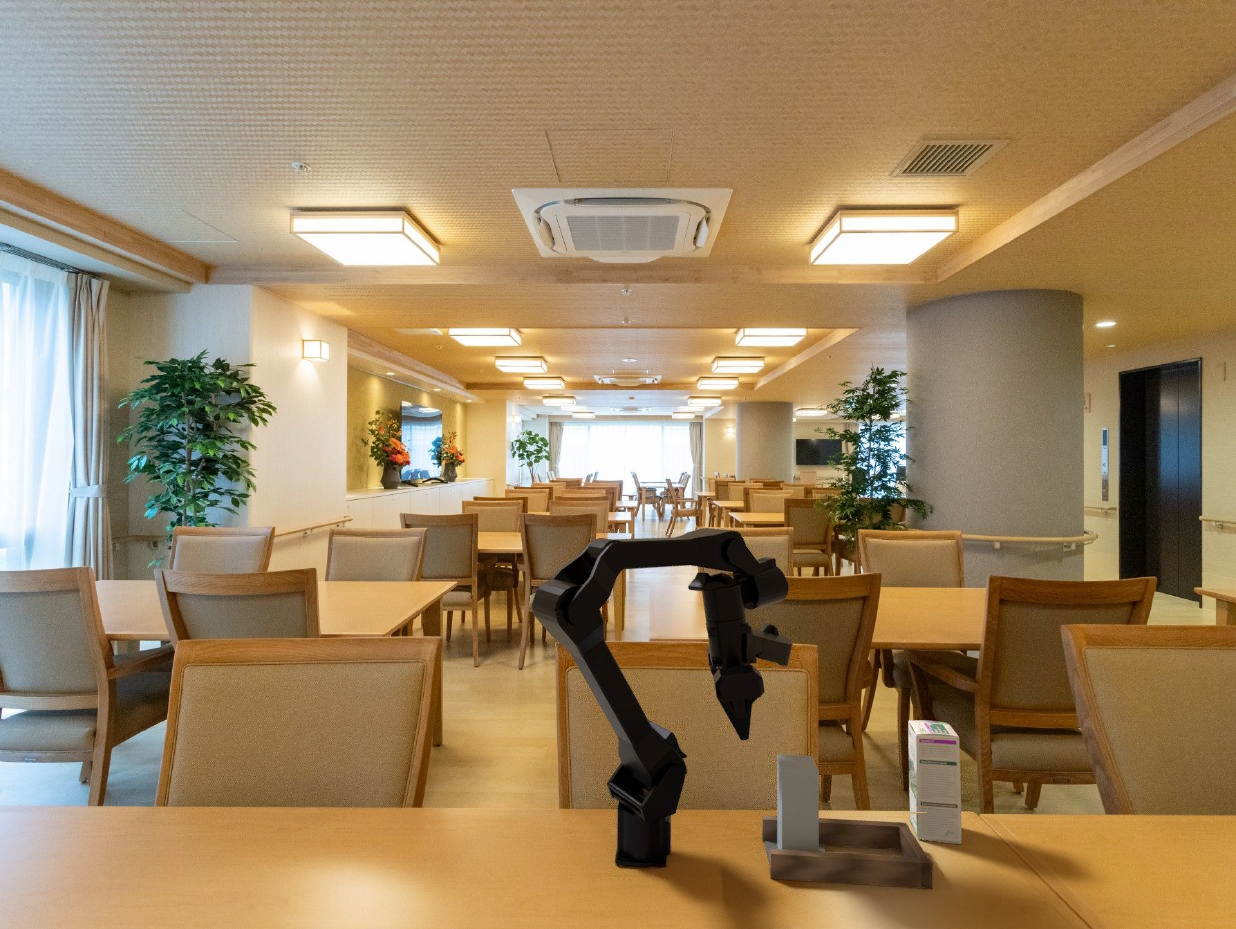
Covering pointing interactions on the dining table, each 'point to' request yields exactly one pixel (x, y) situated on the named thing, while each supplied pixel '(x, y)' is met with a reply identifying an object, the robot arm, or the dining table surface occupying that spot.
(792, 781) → the slate block
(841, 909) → the dining table surface
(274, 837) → the dining table surface
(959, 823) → the syrup box
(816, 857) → the frame
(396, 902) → the dining table surface
